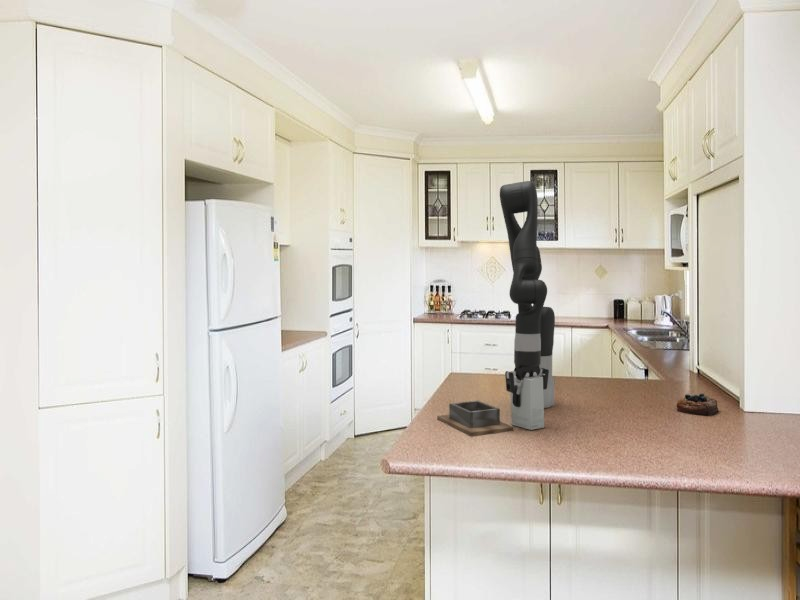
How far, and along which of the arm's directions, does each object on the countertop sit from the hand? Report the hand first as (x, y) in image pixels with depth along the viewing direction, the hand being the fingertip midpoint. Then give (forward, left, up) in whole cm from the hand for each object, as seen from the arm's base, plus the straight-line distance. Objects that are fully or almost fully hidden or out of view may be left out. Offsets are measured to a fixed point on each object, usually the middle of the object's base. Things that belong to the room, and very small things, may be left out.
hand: (526, 405), depth 175 cm
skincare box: (0, 0, -6) cm, 6 cm away
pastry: (-61, +8, -7) cm, 62 cm away
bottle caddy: (+13, -8, -6) cm, 16 cm away
